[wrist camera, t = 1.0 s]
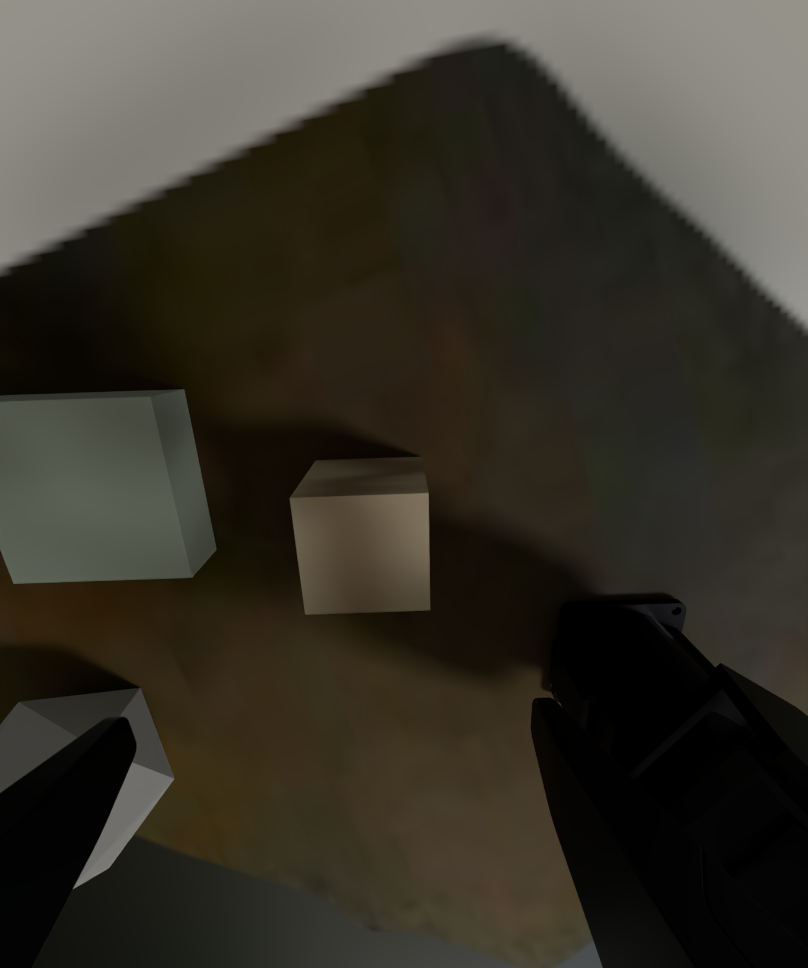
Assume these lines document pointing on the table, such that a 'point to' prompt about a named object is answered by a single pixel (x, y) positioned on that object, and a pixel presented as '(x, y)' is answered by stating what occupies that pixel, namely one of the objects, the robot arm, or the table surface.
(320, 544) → the maple cube
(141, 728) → the die
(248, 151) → the table surface
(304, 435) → the table surface
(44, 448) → the foundation slab
